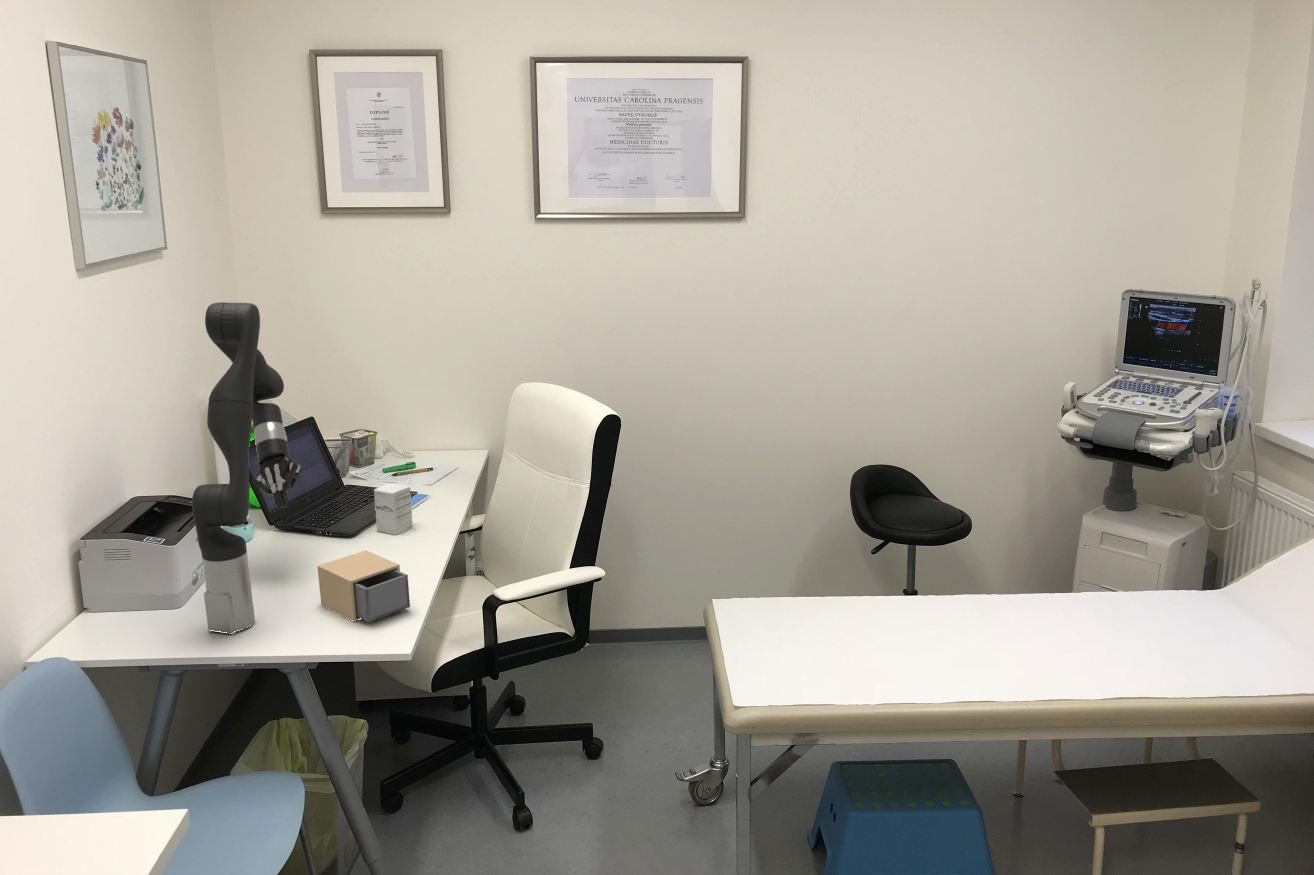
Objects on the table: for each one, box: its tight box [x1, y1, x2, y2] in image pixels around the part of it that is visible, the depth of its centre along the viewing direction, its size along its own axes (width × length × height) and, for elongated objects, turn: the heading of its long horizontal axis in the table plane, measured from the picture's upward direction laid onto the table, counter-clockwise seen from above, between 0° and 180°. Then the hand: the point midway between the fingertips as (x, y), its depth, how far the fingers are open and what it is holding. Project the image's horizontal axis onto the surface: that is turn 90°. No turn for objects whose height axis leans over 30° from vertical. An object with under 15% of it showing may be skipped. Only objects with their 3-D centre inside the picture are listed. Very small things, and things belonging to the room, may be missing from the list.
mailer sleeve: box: [317, 550, 401, 622], centre depth 239 cm, size 14×13×10 cm
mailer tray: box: [353, 569, 411, 623], centre depth 238 cm, size 20×11×8 cm, turn 48°
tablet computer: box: [411, 493, 431, 510], centre depth 310 cm, size 19×13×1 cm, turn 166°
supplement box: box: [373, 482, 413, 536], centre depth 287 cm, size 7×7×13 cm
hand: (282, 507), depth 248 cm, fingers closed
